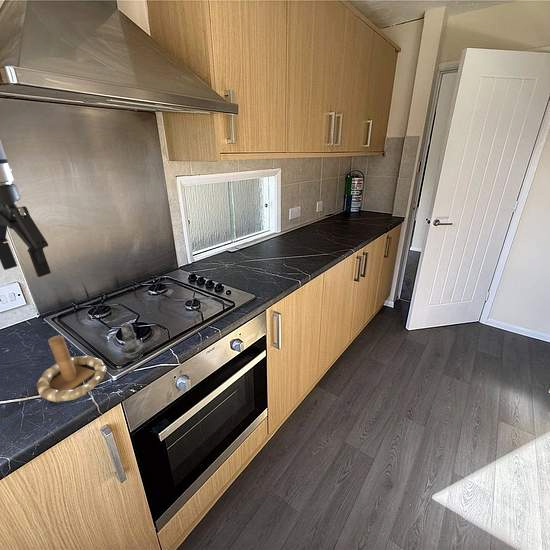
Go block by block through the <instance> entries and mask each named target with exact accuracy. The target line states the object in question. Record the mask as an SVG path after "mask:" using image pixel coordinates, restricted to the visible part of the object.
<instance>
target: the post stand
mask: <svg viewBox="0 0 550 550" xmlns="http://www.w3.org/2000/svg"><path fill="white" fill-rule="evenodd" d="M47 342H48V345H49V347H50V350H51V352H52V354H53V357H54V359H55V362H56V363H57V365H58V367H59V370H60V372H59V373H60V374H57V375H56V376H54V377H53V378H52V380H51V382H50V386H51V388H52V389H55V390H58V391H63V390H73V389H75V388H77V387H79V386H80V385H81V384H82V383H83V382H85V381H86V380H87V379H89V378H91V376H94V375H95V372H96V371H95V369H94V370H93V369H90V368H88V367H84V366H82V365H79V366H74V364H73V361H72V359H71V354H70V351H69V348H68V346H67V343H66V340H65V338H64V335H61V334H58V335H54V336H52V337H50V338H49V339H48V340H47Z"/></svg>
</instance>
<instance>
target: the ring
mask: <svg viewBox="0 0 550 550" xmlns="http://www.w3.org/2000/svg"><path fill="white" fill-rule="evenodd" d="M71 359H72V361H73V364H74V366H88V367H91V368H93V369H94V371H96V372H95V373H94V374H93V377H92V378H91V379H90V380H88V381H87V382H85V383H84V384H82V385H79V386H77V387H75V388H74V389H73V390H63V391H58V390H55V389H52V388H51V386H50V382H51V380H52V379H54V378H55V377H56V376H58V375H59V373H61V372H60V370H59V367H58V365H57V362H56V363H54V364H53V365H51V366H50V367H48V369H46V370H45V371H43V372H42V374H41V376H40V378H39V379H38V381H37V383H36V389H37V392H38V394H39V397H40V398H42V399H45V400H47V401H50V402H53V403H59V402H61V403H62V402H69V401H75V400H77V399H79V398H81V397H84V396H86V395H88V393H89V392H91V391H92V390H93V389H94V388H95V387H96V386H98V385H99V384H101V382H102V381H103V380H104V379H105V376H106V373H107V370H108V369H107V366H106V365H105V363H104V361H103V360H102V359H101V358H98V357H94V356H91V355H80V356H79V355H78V356H72V357H71Z"/></svg>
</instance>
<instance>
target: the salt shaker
mask: <svg viewBox="0 0 550 550" xmlns="http://www.w3.org/2000/svg"><path fill="white" fill-rule="evenodd" d="M120 329H121V330H120V331H121V334H122V337H121V339H122V340H123V341H124V344H123V346H122V347H121V349H120V353H121V354H122V355H123V356H124V358H128V359H131V360H130V361H129V362H131V361H136V360H138V359H140V358H141V357H142V356H143V353H144V352H143V350H144V343H143V342H142V341H138V340H137V337H136V336H137V333H135V330H134V326H133V325H132V324H131V323H128V322H127V321H124V323H123V325H121V328H120ZM142 352H143V353H142Z"/></svg>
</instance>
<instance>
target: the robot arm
mask: <svg viewBox="0 0 550 550" xmlns="http://www.w3.org/2000/svg"><path fill="white" fill-rule="evenodd" d="M14 181H15V178H14V176H13V169H12V167H10V165H9V161H8V158H7V155H6V152H5V150H4V146H3V143H2V139H0V263H1V266H2V268H3V270H5V271H6V270H10V269H14V268H16V267H18V264H17V261H16V259H15V257H14V254H13V251H12V249H11V246H10V243H9V242H8V238H7V231H8V228H9V229H11V230H12V231H14V232H15V233H16V234H17V236H18V237H19V238H20V239H21V241H22V242H23V243H24V244H25V245H26V246H27V253H28V254H29V257H30V261H31V263H32V266H33V269H34V272H35V274H36V276H37V278H42V277H44V276H47V275H50V274H51V273H52V272H51V269H50V265H49V263H48V260H47V257H46V254H45V251H44V249H45V248H47V247H49V243H48V241H47V240H46V238H45V236H44V235H43V234H42V232H41V230H40V229H39V227H38V226H37V224H36V223H35V221H34V220H33V217H32V216H31V215H30V212H29V209H28V207H27V206H17V204H16V202H18V201H20V200H21V195H20V192H19V188H18V186H17V185H16V184H15V183H13V182H14Z"/></svg>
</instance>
